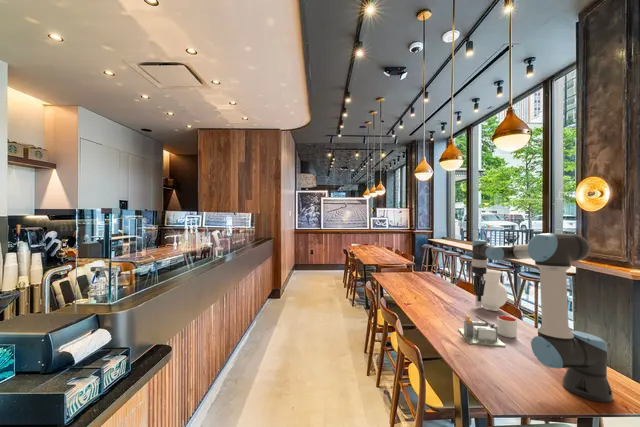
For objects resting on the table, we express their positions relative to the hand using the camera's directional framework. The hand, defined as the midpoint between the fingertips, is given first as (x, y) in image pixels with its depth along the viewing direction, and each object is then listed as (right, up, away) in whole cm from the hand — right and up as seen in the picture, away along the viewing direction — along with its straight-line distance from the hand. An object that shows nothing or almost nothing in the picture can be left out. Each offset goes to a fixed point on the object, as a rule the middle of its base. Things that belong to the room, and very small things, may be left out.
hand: (478, 306), depth 170 cm
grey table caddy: (+1, -18, 0) cm, 18 cm away
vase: (+39, -20, +52) cm, 68 cm away
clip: (-5, -10, +1) cm, 11 cm away
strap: (+4, -9, -1) cm, 10 cm away
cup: (+20, -19, +5) cm, 28 cm away
